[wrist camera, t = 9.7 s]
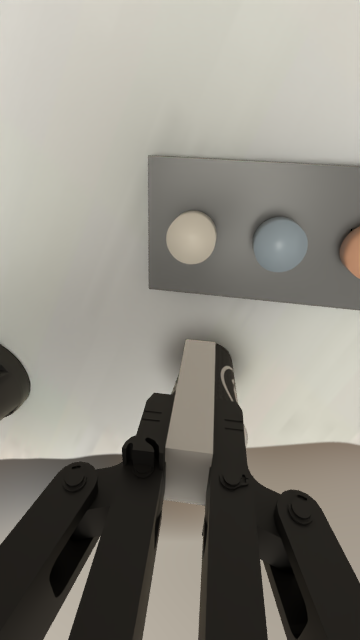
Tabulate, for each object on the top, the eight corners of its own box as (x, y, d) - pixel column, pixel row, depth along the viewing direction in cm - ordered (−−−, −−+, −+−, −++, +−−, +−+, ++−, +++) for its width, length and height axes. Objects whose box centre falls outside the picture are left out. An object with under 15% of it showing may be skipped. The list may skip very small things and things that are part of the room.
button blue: (248, 257, 33) (250, 269, 30) (255, 211, 31) (258, 219, 27) (292, 261, 33) (300, 274, 29) (303, 215, 31) (313, 223, 27)
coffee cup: (215, 319, 39) (207, 401, 26) (256, 369, 42) (268, 466, 29) (161, 354, 43) (130, 440, 30) (202, 397, 45) (190, 494, 32)
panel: (152, 282, 38) (148, 288, 36) (153, 155, 31) (148, 155, 29) (381, 305, 35) (388, 313, 33) (435, 170, 28) (449, 171, 26)
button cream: (172, 250, 34) (165, 262, 31) (174, 206, 32) (166, 212, 28) (214, 254, 34) (213, 266, 30) (219, 209, 31) (218, 216, 28)
